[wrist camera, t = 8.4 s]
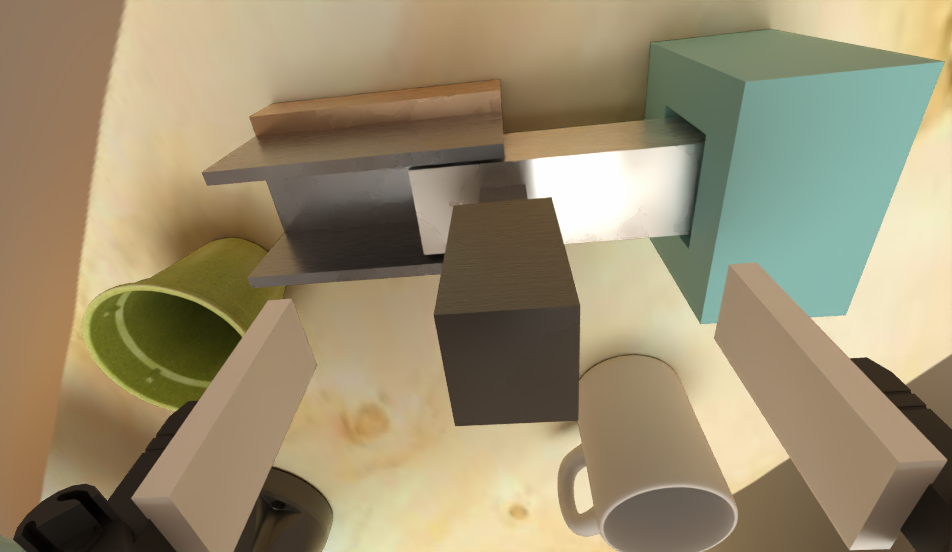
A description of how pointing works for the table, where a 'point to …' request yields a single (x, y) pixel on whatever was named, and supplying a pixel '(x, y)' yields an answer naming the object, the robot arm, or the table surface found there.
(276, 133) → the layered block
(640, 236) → the grey sliding latch bolt
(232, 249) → the plant pot
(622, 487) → the mug
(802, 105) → the socket block
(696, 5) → the table surface
